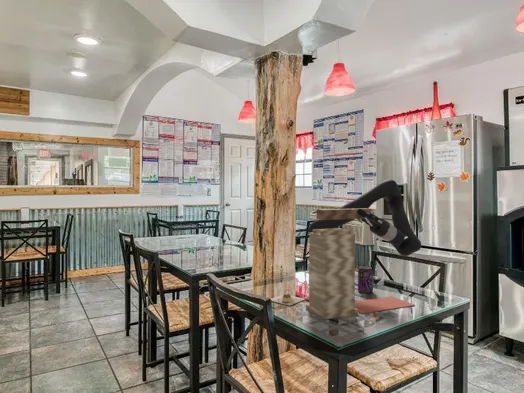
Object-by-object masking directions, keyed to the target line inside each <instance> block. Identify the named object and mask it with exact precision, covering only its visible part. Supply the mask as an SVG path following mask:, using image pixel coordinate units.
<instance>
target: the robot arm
mask: <svg viewBox="0 0 524 393" xmlns="http://www.w3.org/2000/svg"><path fill="white" fill-rule="evenodd" d="M381 199H384V200H385V201H386V202H387V204H388V206H389V209H390V212H391V220H392V223H391V222H389V221H388V220H386V219H385V218H383V217H381V216H377V215H375V214H373V213H372V212H371V213H370V214H369V213H366V212H365V211H363V210H362V209H360V208H367V209H370V207H371V206H372V205H373V204H374V203H376V202H377V201H379V200H381ZM403 202H404V201H403V196H402V189H401V188H400V187H399V184H398V183H397V182H396V181H395V180H394V179H385V180H383V181H382V182H381V181H380V183H378V184H377V185H376V186H374V187H373V188H371V189H370V190H368V191H367V192H365V193H363V194H362V195H360V196H359V197H357V198H355V199H353V200H351V201H349V202H347V203H345V204H344V205H342V206H341V207H339V208H338V209H358V211H357V213H358V214H359V215H361V216H362V217H364V218H365V219H337V220H318V219H317V220H315V221H313V222H311V223H310V224H309V226H308V235H309V234H310V233H311V232H313V230H315V229H337V228H338V227H340V226H343V225H346V224H348V223H351V222H353V221H355V220H357V221H358V222H359V223H360V224H363V223H364V224H365V225H366V226H368V227H369V231H370V232H371V233H373V234H374V235H376V236H377V237H379V238H381V239H382V240H384V241H386V242H387V243H389V244H391V246H393V248H394V249H395V250H396V251H397V253H398V254H399V255H400V256H402V257H408V256H410V255H412V254H414V253H416V252H418V251H420V250H421V248H422V242H421V241H420V239H419V238H418V236H417V235H416V233H415V232H414V231H413V229H412V227H411V224H410V221H409V218H408V215H407V213H406V211H405V207H404V203H403Z"/></svg>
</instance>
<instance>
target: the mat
mask: <svg viewBox="0 0 524 393" xmlns="http://www.w3.org/2000/svg"><path fill="white" fill-rule="evenodd" d="M410 306H411V307H416V305H415V304H413V303H410V302H408V301H405V300H403V299H400V298H397V297H395V296H392V295H391V296H382V297H376V298H371V299H370V298H368V299H362V300H355V308H356V309H358V314H361V315H363V314H370V313H375V312H383V311H390V310H396V309H402V308H403V309H404V308H409V307H410ZM411 307H410V308H411Z"/></svg>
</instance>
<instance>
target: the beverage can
mask: <svg viewBox="0 0 524 393" xmlns="http://www.w3.org/2000/svg"><path fill="white" fill-rule="evenodd" d="M357 291H359V292H360V293H363V294H370V293H373V291H374V270H373V267H371V266H367V265H365V266H364V265H362V266H361V265H360V266H359V267H358V269H357Z"/></svg>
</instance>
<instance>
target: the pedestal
mask: <svg viewBox="0 0 524 393" xmlns="http://www.w3.org/2000/svg"><path fill="white" fill-rule="evenodd" d="M308 236H309V240H308V242H309V252H308V253H309V260H308V263H309V264H308V286H309V288H308V292H309V293H308V299H309V300H308V303H306V304H305V309H306V310H308V311H309V312H311V313H312V314H313V315H315V316H317V317H319V318H320V319H321V320H322V319H323V320H329V319H337V318H341V317H349V316H356V315H359V313H358V309H356V308H355V301H356V300H355V299H356V298H355V297H356V294H355V293H356V292H355V290H356V285H355V284H356V283H355V282H356V281H355V280H356V272H355V271H356V234H354V233H352V230H351V229H343V228H334V229H315V230H313V232H311V233H310V234H309V233H308Z"/></svg>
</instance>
